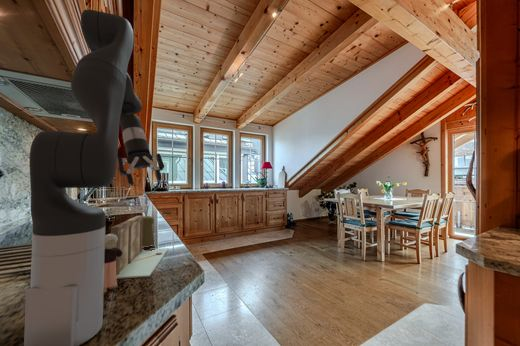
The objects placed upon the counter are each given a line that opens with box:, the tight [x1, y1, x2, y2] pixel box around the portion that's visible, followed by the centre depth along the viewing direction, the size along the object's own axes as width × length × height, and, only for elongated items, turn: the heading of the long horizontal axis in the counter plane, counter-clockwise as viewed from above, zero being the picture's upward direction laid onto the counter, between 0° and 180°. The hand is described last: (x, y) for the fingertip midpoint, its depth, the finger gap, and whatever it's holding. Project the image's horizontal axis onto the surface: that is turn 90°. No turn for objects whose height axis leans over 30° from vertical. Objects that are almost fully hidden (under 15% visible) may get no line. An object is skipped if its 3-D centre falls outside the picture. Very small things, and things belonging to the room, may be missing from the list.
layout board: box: [116, 247, 170, 280], centre depth 69 cm, size 23×12×1 cm, turn 10°
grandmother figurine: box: [103, 233, 124, 294], centre depth 53 cm, size 8×4×13 cm, turn 168°
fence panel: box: [124, 215, 144, 262], centre depth 72 cm, size 11×2×12 cm, turn 10°
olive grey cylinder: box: [142, 215, 155, 246], centre depth 86 cm, size 6×6×11 cm
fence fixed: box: [110, 221, 130, 276], centre depth 62 cm, size 8×2×12 cm, turn 10°
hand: (146, 183), depth 79 cm, fingers open, 8 cm apart
